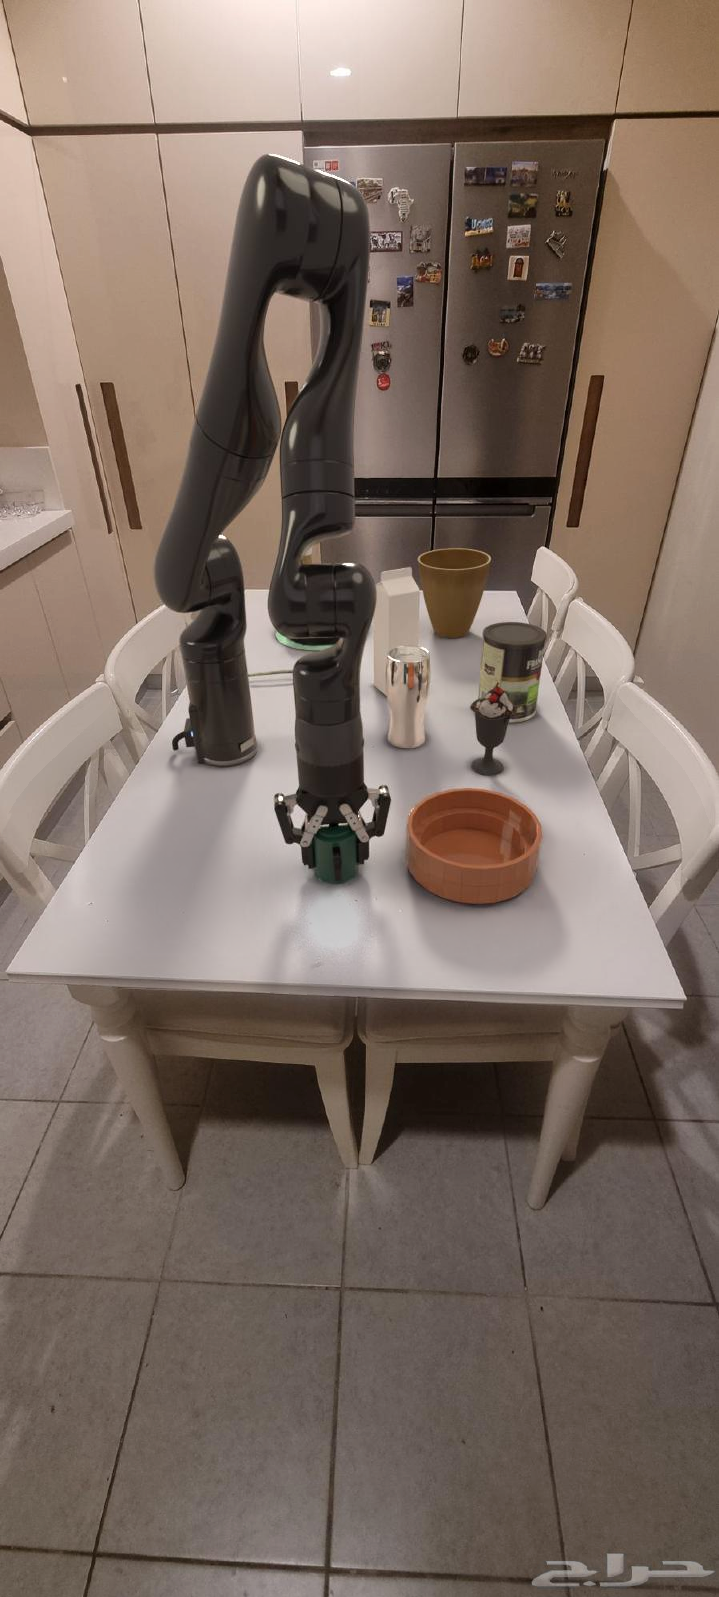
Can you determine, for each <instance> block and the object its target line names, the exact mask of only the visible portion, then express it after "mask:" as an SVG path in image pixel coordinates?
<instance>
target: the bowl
mask: <svg viewBox="0 0 719 1597" xmlns="http://www.w3.org/2000/svg"><path fill="white" fill-rule="evenodd" d="M405 840H406V843H405V844H406V845H405V846H406V847H405V860H406V865H407V868H408V871H409V872H410V874H411V875H412V877H413V878H414V880H415V881H416V882H417V883H418V884H419V885H421V886H422V887H423V888H424V889H426V890H427V891H429V892H431V893H433V894H435V895H437V896H438V897H440V898H443V899H446V900H450V901H454V902H456V903H462V904H476V905H482V904H492V903H493V904H495V903H499V902H502V901H505V900H508V899H512V898H514V897H516V896H517V895H519V894H521V893H522V892H524V891H526V889H528V888H529V886H530V885H531V883H533V881H534V880H535V877H536V873H537V871H538V864H539V858H540V852H541V846H542V840H543V828H542V824H541V822H540V820H539V818H538V816H537V815H536V813H535V812H533V811H532V810H531V809H530V808H529V807H528V806H527V805H526V804H524V803H522V802H521V801H519V800H518V799H517V798H514V797H512V796H510V795H508V794H504V793H502V792H498V791H495V790H494V791H493V790H489V789H486V788H472V787H461V788H451V789H446V790H442V791H438V792H435V793H432V794H431V795H428V796H426V797H424V798H423V799H421V800H420V801H419V802H417V803H416V804H415V805H414V806H413V808H412V809H411V810H410V812H409V814H408V816H407V821H406V839H405Z"/></svg>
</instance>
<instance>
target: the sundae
mask: <svg viewBox="0 0 719 1597" xmlns="http://www.w3.org/2000/svg"><path fill="white" fill-rule="evenodd" d="M498 685H499V682H497V684H496V686H495V687H496V688H495V687H494V689H492V690H490V691H488V692H487V693H486V695H485V697H484V698H480V699H478V698H477V699H476V700H474V701H473V702H472V703H470V706H469V709H470V711H472V713H474V720H475V734H476V741H478V743H479V744H480V746H482V747H484V754H483V756H481V757H477V758H475V759H474V760H473V761H472V762H471V764H470V766H471V768H472V770H473V771H474V772H476V773H478V774H480V775H485V776H494V775H498V774H500V773H502V772H503V771H504V769H505V766H504V764H503V763H502V762H501V761H500V760H499V759H497V758H495V757H494V749H495V748H498V747H499V746H500V745H502V744H503V743H504V741H505V738H506V734H507V732H508V728H509V724H510V723H509V720H510V717H511V716H512V715H515V714H516V712H517V709H516V706H515V705H514V704H513V703H512V702H510V701H509V700H508V696H509V694H508V693H507V692H505V691H504V690H503V689H502V688H500V687H498Z"/></svg>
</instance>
